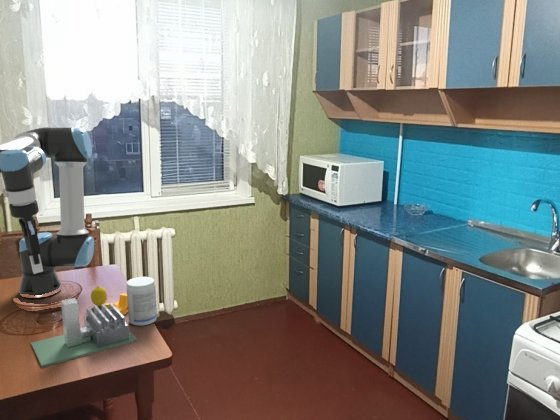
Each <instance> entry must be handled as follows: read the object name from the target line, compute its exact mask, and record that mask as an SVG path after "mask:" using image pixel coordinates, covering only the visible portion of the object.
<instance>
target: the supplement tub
mask: <svg viewBox="0 0 560 420" xmlns="http://www.w3.org/2000/svg"><path fill="white" fill-rule="evenodd" d="M156 293H157V292H156V282H155V279H154V278H153V277H150V276H138V277H137V276H136V277H133V278H130V279H129V280H127V281H126V294H127V301H128V312H127V313H128V315H127V316H128V322H129V323H130V324H131V325H134V326H147V325H150V324H152V323H154V322H156V320H157V318H158V314H157V313H158V311H157V309H158V308H157V296H156V295H157V294H156Z"/></svg>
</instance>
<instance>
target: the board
mask: <svg viewBox="0 0 560 420" xmlns="http://www.w3.org/2000/svg"><path fill="white" fill-rule="evenodd" d="M137 340H138V339H137V338H136V337H135V336H134V335H133V333H132V332H131V331H130V330H129V340H126V341H122V342H119V343H115V344H112V345H108V346H104V347H101V348H97V347H96V346H95V344H94V343H93V341H92V340H91V341H88V342H84V343H81V344H79V345H76V346H72V347H67V345H66V344H65V341H64V334H61V335H57V336H53V337H49V338H45V339H41V340H38V341H34V342H30V344H31V347H32V349H33V351H34V353H35V355H36V357H37V360H38V362H39V364H40V366H41V368H45V367H48V366H51V365H56V364H59V363H63V362H66V361H69V360H73V359H76V358H79V357H83V356H84V357H85V356H88V355H91V354H95V353H98V352H102V351H105V350H108V349H112V348H116V347H120V346H123V345H127V344H130V343H133V342H137Z"/></svg>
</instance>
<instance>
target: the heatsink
mask: <svg viewBox="0 0 560 420" xmlns="http://www.w3.org/2000/svg"><path fill="white" fill-rule="evenodd" d="M108 303H109V309H108V308H107V307H106V306H105V303H104V304H101V306H100V307H101V309H100V308H99V306H97V305H93V310H94V312H93V310H92V309H91V308H90V307H88V306H87V307H86V316H83V320H84V321H83V322H84V324H83V325H84V326H80V333H81V336H82V337H85V336H89V335H90V337H91V340H92V341H93V343H94V344H95V346H96V347H97V348H101V347H104V346H108V345H112V344H115V343H119V342H122V341H126V340H129V331H130V327H129V324H128V323H127V322H126V318H125V317H126V316H125V315H122V314H121V313H120V312H119V311H118V309H117V308H116V307H115V306H114V305H113V304H112V303H113V302H111V301H110V302H108Z"/></svg>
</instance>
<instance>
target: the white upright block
mask: <svg viewBox="0 0 560 420" xmlns="http://www.w3.org/2000/svg"><path fill="white" fill-rule="evenodd" d="M60 304H61V305H60V306H61V315H62V317H61V318H62V328H63V335H64V341H65V344H66V345H67V347H72V346H76V345H79V344H81V343H84V342H88V341H91V337H90V335H89V336H85V337H82V336H81V333H80V327H81V325H80V324H81V323H80V311H79V310H80V309H79V308H80V307H79V302H78V300H77V298H75V297H72V298H68V299H67V298H66V299H63V300H60Z"/></svg>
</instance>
